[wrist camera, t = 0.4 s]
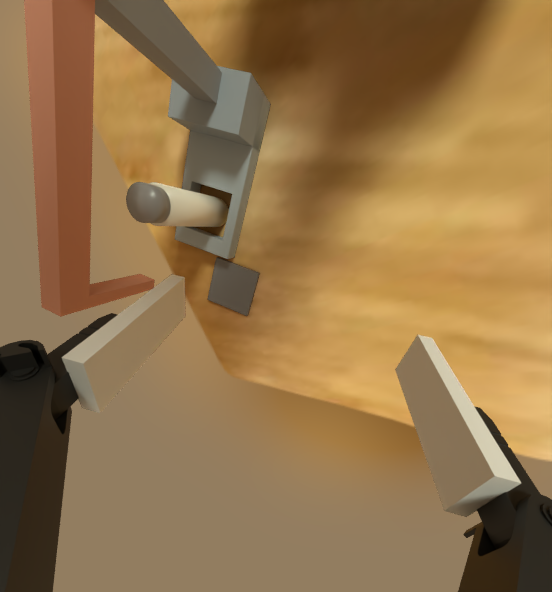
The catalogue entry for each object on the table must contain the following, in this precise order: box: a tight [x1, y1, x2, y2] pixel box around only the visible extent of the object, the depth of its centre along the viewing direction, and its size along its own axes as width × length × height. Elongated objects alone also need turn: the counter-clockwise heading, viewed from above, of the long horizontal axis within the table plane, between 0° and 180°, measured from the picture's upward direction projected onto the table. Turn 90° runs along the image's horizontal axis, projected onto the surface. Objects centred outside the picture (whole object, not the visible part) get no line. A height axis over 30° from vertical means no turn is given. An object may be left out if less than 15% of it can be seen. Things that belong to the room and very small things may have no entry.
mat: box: [208, 257, 260, 316], centre depth 41 cm, size 8×8×1 cm
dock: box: [95, 0, 271, 259], centre depth 27 cm, size 22×10×21 cm, turn 162°
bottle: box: [126, 182, 228, 227], centre depth 32 cm, size 5×5×15 cm
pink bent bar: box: [24, 0, 154, 316], centre depth 21 cm, size 26×4×10 cm, turn 162°
